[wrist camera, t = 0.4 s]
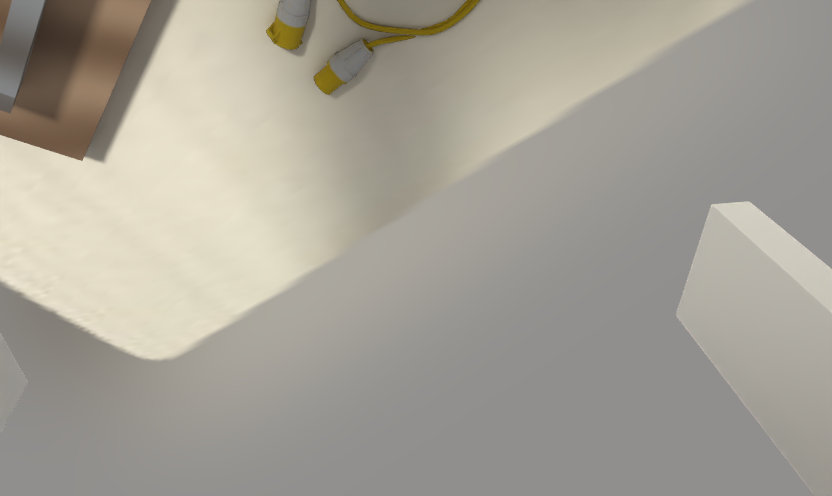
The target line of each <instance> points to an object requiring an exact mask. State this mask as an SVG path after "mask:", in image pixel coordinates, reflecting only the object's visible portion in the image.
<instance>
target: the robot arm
mask: <svg viewBox="0 0 832 496" xmlns="http://www.w3.org/2000/svg"><path fill="white" fill-rule="evenodd" d="M676 316H677V318H678V319H679V320H680V322H681V323H682V324H683V325H684V327H685V328H686V329H687V331H688V332H689V333H690V335H691V336H692V337H693V338H694V340H695V341H696V342H697V344H698V345H699V346H700V348H701V349H702V350H703V352H704V353H705V354H706V355H707V357H708V358H709V359H710V361H711V362H712V363H713V364H714V366H715V367H716V368H717V370H718V371H719V372H720V374H721V375H722V376H723V378H724V379H725V380H726V381H727V383H728V384H729V385H730V387H731V388H732V389H733V390H734V392H735V393H736V394H737V396H738V397H739V398H740V399H741V401H742V402H743V404H744V405H745V406H746V407H747V409H748V410H749V411H750V413H751V414H752V415H753V417H754V418H755V419H756V420H757V422H758V423H759V424H760V426H761V427H762V428H763V430H764V431H765V432H766V433H767V435H768V436H769V437H770V439H771V440H772V441H773V443H774V444H775V445H776V446H777V448H778V449H779V450H780V451H781V453H782V454H783V456H784V457H785V458H786V459H787V461H788V462H789V463H790V464H791V466H792V467H793V469H794V470H795V471H796V472H797V473H798V475H799V476H800V478H801V479H802V480H803V481H804V483H805V484H806V485H807V487H808V488H809V489H810V491H811V492H812V493H813V495H814V496H832V269H831V268H830V267H828V266H827V265H826V264H825V263H824V262H822V261H821V260H820V259H819V258H818V257H816V256H815V255H814V254H813V253H811V252H810V251H809V250H808V249H806V248H805V247H804V246H803V245H802V244H800V243H799V242H798V241H797V240H795V239H794V238H793V237H792V236H791V235H789V234H788V233H787V232H786V231H784V230H783V229H782V228H781V227H780V226H778V225H777V224H776V223H775V222H773V221H772V220H771V219H769V217H767V216H766V215H765V214H764V213H762V212H761V211H760V210H759V209H758V208H756V207H755V206H754V205H753V204H751V203H750V202H737V203H726V204H713V205H711V207H710V211H709V214H708V217H707V220H706V223H705V226H704V229H703V232H702V235H701V239H700V242H699V245H698V248H697V251H696V254H695V257H694V260H693V263H692V266H691V269H690V273H689V276H688V279H687V282H686V285H685V288H684V291H683V294H682V297H681V301H680V303H679V307H678V310H677V313H676ZM27 384H28V381H27V380H26V378H25V376H24V374H23V373H22V371H21V369H20V367H19V365H18V364H17V362H16V360H15V358H14V356H13V354H12V353H11V351H10V349H9V347H8V345H7V344H6V342H5V340H4V338H3V336H2V335H1V333H0V434H1V432H2V430H3V429H4V427H5V425H6V423H7V421H8V419H9V417H10V416H11V414H12V412H13V410H14V408H15V406H16V404H17V403H18V401H19V399H20V397H21V395H22V393H23V391H24V390H25V388H26V386H27Z"/></svg>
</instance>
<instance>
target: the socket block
mask: <svg viewBox="0 0 832 496" xmlns="http://www.w3.org/2000/svg"><path fill="white" fill-rule="evenodd" d="M150 2H151V0H0V135H2V136H6V137H9V138H12V139H15V140H18V141H21V142H24V143H28V144H31V145H34V146H37V147H40V148H43V149H46V150H49V151H53V152H56V153H59V154H62V155H65V156H68V157H71V158H75V159H78V160H81V161H82V160H83V158H84V155H85V153H86V151H87V148H88V146H89V144H90V142H91V139H92V137H93V135H94V132H95V130H96V128H97V125H98V123H99V121H100V118H101V116H102V114H103V111H104V109H105V107H106V104H107V102H108V100H109V97H110V95H111V93H112V90H113V88H114V86H115V83H116V81H117V79H118V76H119V74H120V72H121V69H122V67H123V65H124V62H125V60H126V58H127V55H128V53H129V51H130V48H131V46H132V44H133V41H134V39H135V37H136V34H137V32H138V30H139V27H140V25H141V23H142V20H143V18H144V16H145V13H146V11H147V9H148V7H149V4H150Z"/></svg>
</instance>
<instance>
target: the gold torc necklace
mask: <svg viewBox="0 0 832 496" xmlns="http://www.w3.org/2000/svg"><path fill="white" fill-rule="evenodd" d="M337 1H338V2H339V4H340V6H341V7H342V8H343V10H344V11H345V12H346V14H347V15H348V16H349V17H350V18H351V19H352V20H353V21H354V22H356V23H357V24H359V25H360V26H362V27H365V28H368V29H371V30H375V31H380V32H388V33H396V34H408V35H402V36H393V37H388V38H382V39H378V40H375V41H371V42H369V43H368V42H367V41H366V40H365V39H362V38H361V39H360V41H358V42H355V43H354V44H352V45H350V46H348V47H347V48H345V49H343V50H342V51H340V52H336V55H335V56H333V57H332V58H331V59H330V60H329V61H328V62H327V65H326V66H325V67H324V68H323V69H322V70H321V71H320V72H319V73H317V74H316V75H315V76H314V81H315V83H316V85H317V86H318V87H319V89H320V90H321V91H322V92H324V93H325V94H327V95H330V94H331V93H332V92H333V91H335V90H336V89H337V88H338V87H339V86H341V85H342V84H346V83H347V82H348V81H350V80H351V79H352V78H353V77H356V76H357V73H358V72H359V70H360V69H361V68H362V67H363V66H364V64H365V63H366V62H367V60H368V59H369V58H370V56H371V55H373V53H374V51H373V49H372V47H374V46H377V45H381V44H386V43H391V42H396V41H402V40H407V39H411V38H414V37H416V36H409V35H433V34H436V33H439V32H442V31H444V30H446V29H448V28H450V27H452V26H453V25H455V24H456V23H457V22H459V21H460V20H461V19H463V18H464V17H465V16H466V15H467V14H468V13H469V12H470V11H471V10H472V9H473V8H474V7H475V6H476V4H477V3H478V2H479V1H480V0H467V1H466V2H465V3H464V4H463V6H462V7H461V8H460V9H459V10H458V11H457V12H456V13H455V14H454V16H452V17H451V18H449V19H448V20H446V21H444V22H441V23H438V24H435V25H433V26H429V27H426V28H422V29H420V30H418V29H404V28H394V27H386V26H379V25H375V24H371V23H368V22H365V21H363V20H361V19H359V18H358V17H357V16H356V15H355V14H353V12H352V11H351V10H350V9H349V7H348V6H347V5H346V3H345V2H344V0H337ZM309 9H310V0H280V2H279V6H278V10H277V14H276V19H275V22H274V23H273V24H272V25H271V26H270V27H269V28H268V29H267V30H266V33H267V34H268V36H269V37H270V38H271V40H272V41H273V42H274V44H277V45H278V46H280V47H282V48H285V49H290V50H293V49H297V48H298V47H299V45H301V44H302V43H303V42H302V40H301V38H302V35H303V32H304V29H305V26H306V22H307V19H308V16H309Z"/></svg>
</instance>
